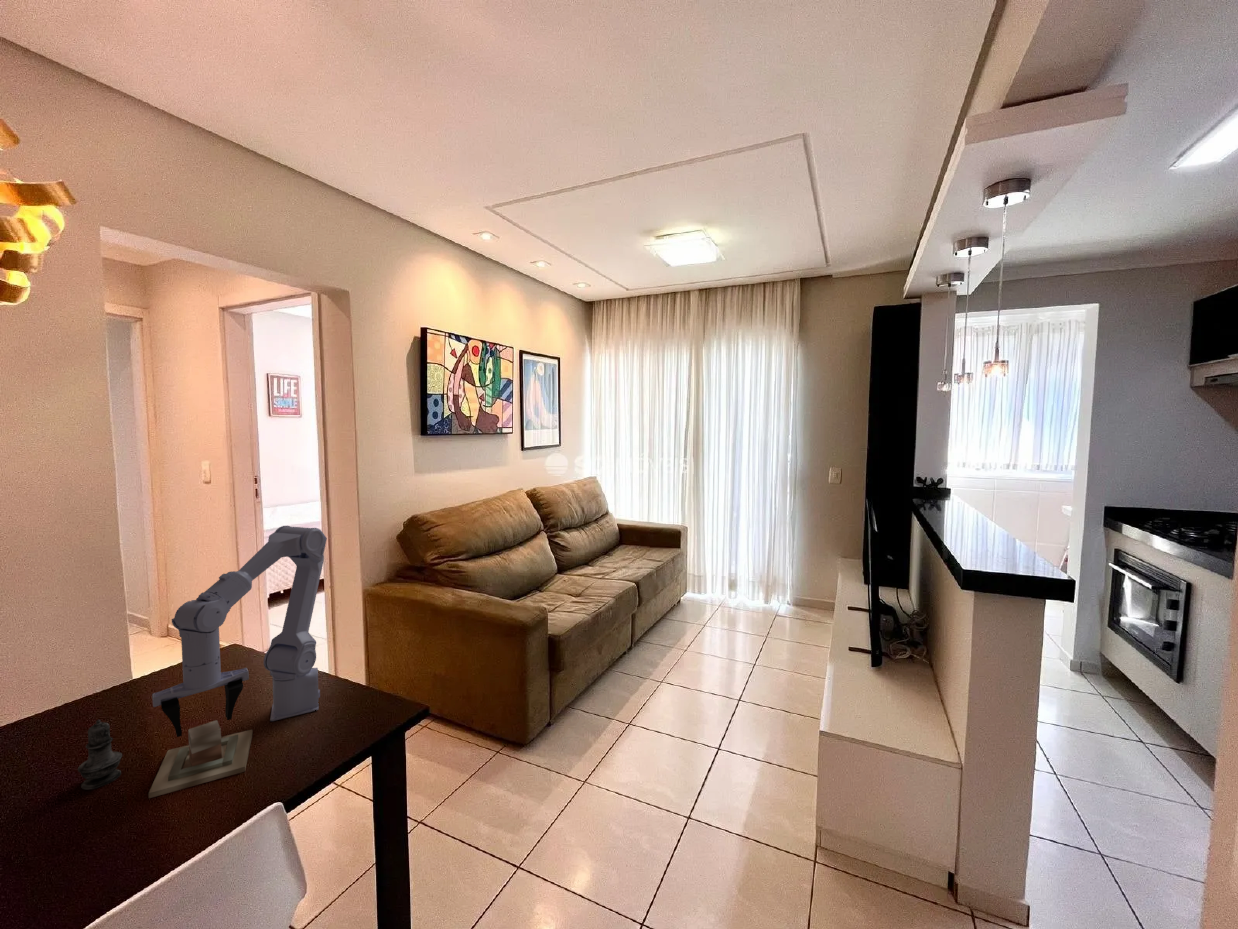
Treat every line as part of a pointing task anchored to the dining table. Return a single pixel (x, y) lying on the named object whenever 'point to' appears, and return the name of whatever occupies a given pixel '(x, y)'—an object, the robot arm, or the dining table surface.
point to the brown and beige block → (205, 743)
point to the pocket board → (201, 765)
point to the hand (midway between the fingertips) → (204, 726)
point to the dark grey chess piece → (99, 758)
